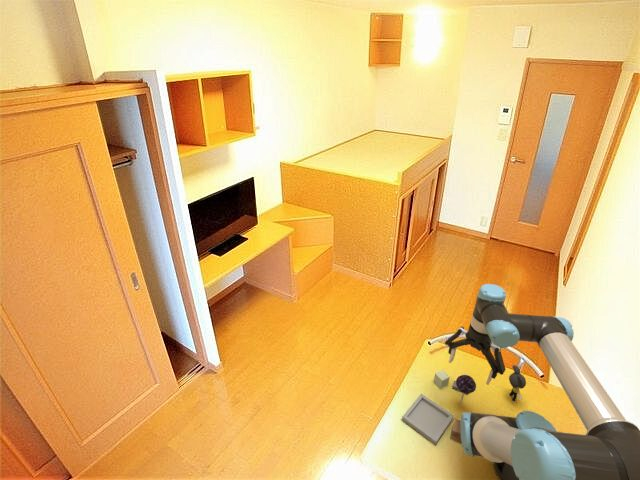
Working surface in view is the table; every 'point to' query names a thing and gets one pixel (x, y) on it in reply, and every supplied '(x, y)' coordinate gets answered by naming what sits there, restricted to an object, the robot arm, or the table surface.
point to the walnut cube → (456, 431)
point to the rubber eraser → (456, 387)
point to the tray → (428, 418)
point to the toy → (516, 383)
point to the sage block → (441, 379)
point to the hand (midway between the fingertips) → (469, 371)
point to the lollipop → (465, 385)
